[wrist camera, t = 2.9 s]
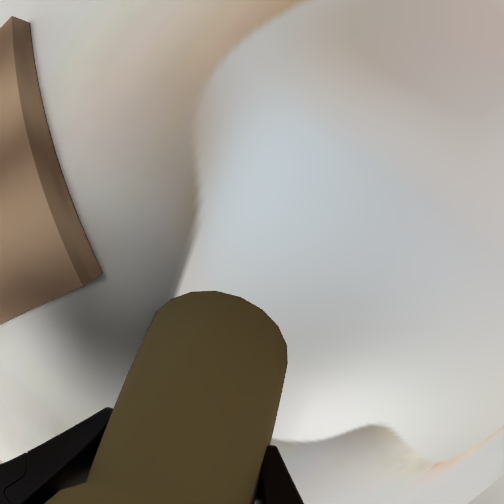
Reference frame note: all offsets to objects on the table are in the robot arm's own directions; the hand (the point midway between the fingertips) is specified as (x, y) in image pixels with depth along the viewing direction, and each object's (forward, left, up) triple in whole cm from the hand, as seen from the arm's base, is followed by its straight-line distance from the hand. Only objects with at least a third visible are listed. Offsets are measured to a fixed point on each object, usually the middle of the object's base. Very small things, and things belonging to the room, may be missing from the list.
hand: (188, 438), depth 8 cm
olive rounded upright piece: (0, 0, -5) cm, 5 cm away
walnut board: (+12, +10, -4) cm, 16 cm away
